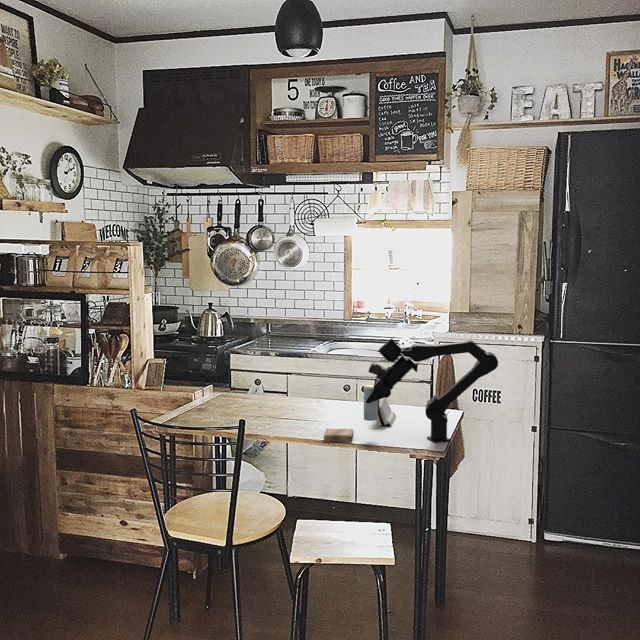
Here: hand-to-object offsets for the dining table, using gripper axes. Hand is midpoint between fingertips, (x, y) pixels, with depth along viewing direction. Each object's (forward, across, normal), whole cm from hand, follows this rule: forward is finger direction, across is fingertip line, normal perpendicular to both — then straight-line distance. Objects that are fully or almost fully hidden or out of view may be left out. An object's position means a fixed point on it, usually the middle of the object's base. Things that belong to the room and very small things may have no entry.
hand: (366, 401), depth 278 cm
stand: (+17, +1, +2) cm, 17 cm away
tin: (+4, 0, +6) cm, 7 cm away
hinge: (+6, -25, +14) cm, 29 cm away
